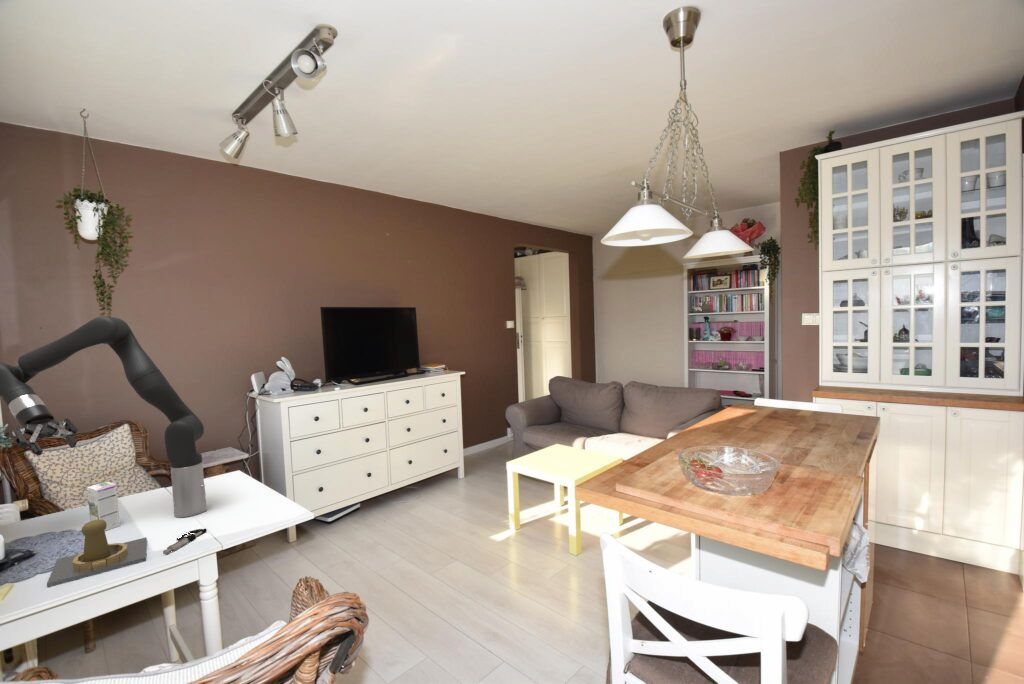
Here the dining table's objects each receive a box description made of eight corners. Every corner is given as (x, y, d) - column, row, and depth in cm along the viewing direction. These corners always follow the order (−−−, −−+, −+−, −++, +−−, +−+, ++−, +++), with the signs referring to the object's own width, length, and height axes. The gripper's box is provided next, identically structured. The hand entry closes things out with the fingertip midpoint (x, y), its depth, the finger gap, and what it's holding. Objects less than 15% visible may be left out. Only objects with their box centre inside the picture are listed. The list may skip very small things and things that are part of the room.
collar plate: (146, 540, 146) (146, 532, 146) (145, 560, 133) (145, 552, 133) (57, 562, 134) (56, 553, 134) (47, 587, 121) (46, 577, 121)
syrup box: (120, 525, 158) (117, 482, 157) (99, 533, 152) (95, 489, 151) (111, 522, 160) (107, 480, 159) (90, 530, 155) (86, 486, 154)
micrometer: (190, 531, 152) (189, 523, 152) (209, 532, 151) (209, 524, 151) (147, 555, 137) (146, 546, 137) (168, 556, 136) (167, 548, 136)
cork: (94, 555, 135) (90, 517, 135) (116, 553, 136) (113, 516, 135) (76, 566, 129) (73, 527, 129) (100, 564, 130) (96, 525, 129)
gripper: (5, 408, 142) (33, 448, 139) (62, 399, 155) (89, 436, 152) (-4, 425, 144) (23, 465, 141) (53, 415, 157) (79, 451, 154)
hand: (57, 449), depth 146 cm, fingers open, 8 cm apart
